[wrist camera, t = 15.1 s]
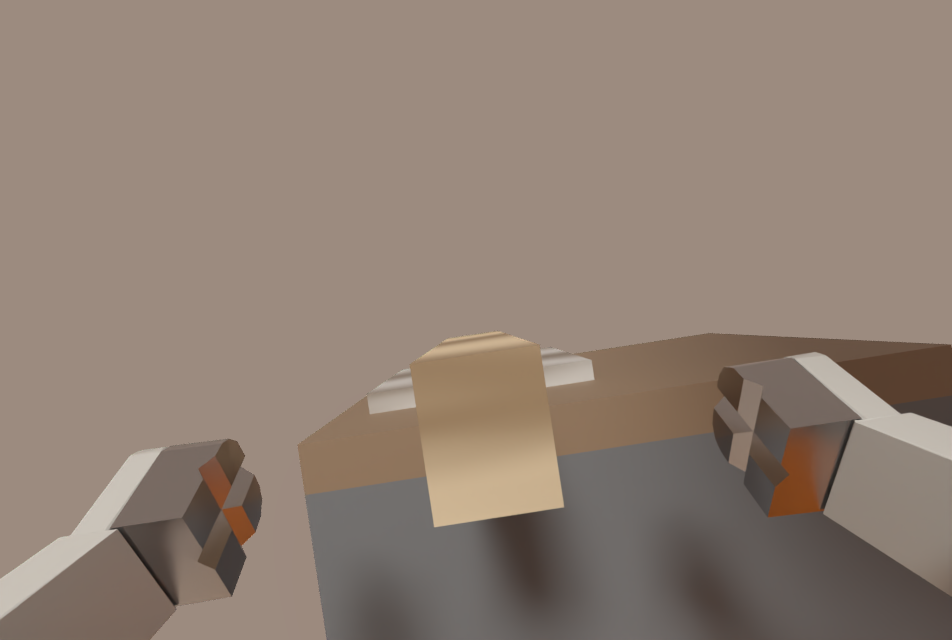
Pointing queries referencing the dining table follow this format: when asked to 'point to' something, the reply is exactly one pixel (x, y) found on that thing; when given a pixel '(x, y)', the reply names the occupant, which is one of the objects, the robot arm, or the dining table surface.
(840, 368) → the robot arm
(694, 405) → the grey box
